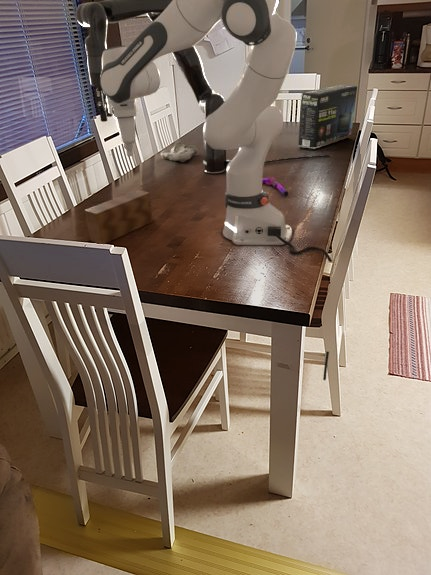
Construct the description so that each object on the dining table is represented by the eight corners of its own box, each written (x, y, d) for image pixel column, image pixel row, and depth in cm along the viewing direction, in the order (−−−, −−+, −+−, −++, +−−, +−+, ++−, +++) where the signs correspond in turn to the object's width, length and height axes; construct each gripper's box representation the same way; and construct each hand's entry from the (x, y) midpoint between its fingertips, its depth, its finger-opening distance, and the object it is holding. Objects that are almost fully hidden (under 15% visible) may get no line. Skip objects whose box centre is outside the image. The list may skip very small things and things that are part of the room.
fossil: (184, 156, 217) (163, 136, 220) (174, 174, 223) (154, 154, 227) (205, 153, 231) (186, 134, 234) (195, 171, 237) (176, 152, 240)
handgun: (255, 182, 193) (255, 177, 192) (273, 180, 195) (273, 175, 194) (269, 198, 176) (269, 193, 175) (289, 195, 177) (289, 191, 176)
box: (141, 218, 164) (137, 189, 158) (152, 221, 161) (149, 192, 155) (90, 240, 149) (84, 210, 143) (101, 245, 146) (96, 213, 140)
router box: (314, 151, 231) (318, 94, 217) (296, 148, 237) (299, 92, 224) (352, 138, 251) (358, 85, 238) (335, 135, 258) (340, 83, 245)
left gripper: (94, 68, 165) (101, 115, 174) (83, 72, 153) (91, 123, 162) (114, 67, 165) (121, 114, 173) (105, 72, 153) (113, 122, 161)
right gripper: (109, 101, 148) (116, 145, 155) (114, 112, 131) (121, 161, 138) (129, 100, 149) (134, 143, 156) (136, 110, 132) (142, 158, 139)
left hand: (107, 118), depth 168 cm, fingers open, 8 cm apart
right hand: (128, 151), depth 147 cm, fingers open, 8 cm apart
